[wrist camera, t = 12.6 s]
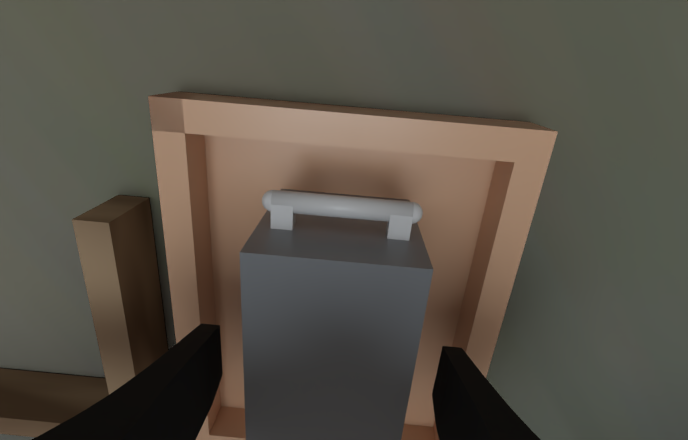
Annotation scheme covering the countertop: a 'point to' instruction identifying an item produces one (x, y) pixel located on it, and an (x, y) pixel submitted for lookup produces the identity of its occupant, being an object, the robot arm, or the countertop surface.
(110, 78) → the countertop surface
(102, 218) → the bay
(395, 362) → the caddy
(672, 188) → the countertop surface
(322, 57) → the countertop surface
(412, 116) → the tray
